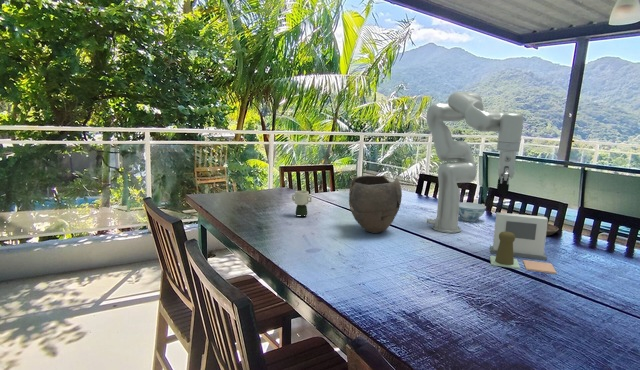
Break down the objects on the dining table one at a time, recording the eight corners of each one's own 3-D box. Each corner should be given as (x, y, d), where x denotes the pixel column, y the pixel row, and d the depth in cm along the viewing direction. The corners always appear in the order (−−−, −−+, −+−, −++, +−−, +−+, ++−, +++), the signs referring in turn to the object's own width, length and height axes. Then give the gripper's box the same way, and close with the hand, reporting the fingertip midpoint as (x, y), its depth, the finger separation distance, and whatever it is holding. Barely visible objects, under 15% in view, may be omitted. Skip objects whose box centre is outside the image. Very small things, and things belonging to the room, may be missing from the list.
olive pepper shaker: (516, 265, 133) (519, 235, 132) (497, 264, 135) (500, 233, 133) (510, 259, 139) (514, 230, 138) (493, 258, 140) (496, 229, 139)
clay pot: (404, 229, 179) (408, 176, 175) (391, 243, 157) (395, 183, 153) (356, 222, 189) (358, 172, 185) (337, 234, 167) (339, 178, 163)
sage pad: (491, 265, 135) (491, 263, 135) (489, 257, 144) (490, 255, 143) (519, 269, 132) (519, 267, 132) (516, 260, 140) (516, 259, 140)
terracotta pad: (526, 270, 131) (526, 268, 131) (522, 261, 140) (522, 259, 140) (556, 274, 128) (556, 272, 128) (550, 265, 137) (551, 263, 137)
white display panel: (490, 253, 148) (494, 214, 146) (489, 248, 154) (493, 211, 151) (546, 260, 141) (551, 220, 139) (543, 255, 147) (548, 216, 145)
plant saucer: (540, 225, 192) (541, 219, 192) (568, 238, 172) (569, 230, 171) (500, 225, 191) (500, 218, 191) (523, 237, 171) (524, 230, 171)
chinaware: (452, 221, 196) (454, 206, 194) (454, 215, 209) (455, 201, 208) (484, 225, 190) (486, 209, 189) (484, 218, 204) (485, 204, 202)
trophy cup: (313, 216, 199) (314, 191, 197) (308, 219, 193) (309, 193, 191) (294, 213, 203) (294, 189, 201) (288, 216, 197) (289, 191, 194)
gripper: (521, 149, 133) (514, 197, 137) (517, 145, 149) (511, 188, 152) (498, 148, 136) (492, 195, 139) (496, 144, 152) (490, 186, 155)
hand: (502, 191), depth 146 cm, fingers open, 9 cm apart
